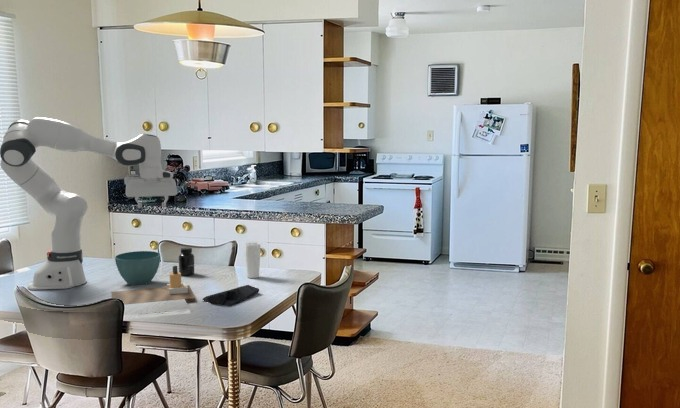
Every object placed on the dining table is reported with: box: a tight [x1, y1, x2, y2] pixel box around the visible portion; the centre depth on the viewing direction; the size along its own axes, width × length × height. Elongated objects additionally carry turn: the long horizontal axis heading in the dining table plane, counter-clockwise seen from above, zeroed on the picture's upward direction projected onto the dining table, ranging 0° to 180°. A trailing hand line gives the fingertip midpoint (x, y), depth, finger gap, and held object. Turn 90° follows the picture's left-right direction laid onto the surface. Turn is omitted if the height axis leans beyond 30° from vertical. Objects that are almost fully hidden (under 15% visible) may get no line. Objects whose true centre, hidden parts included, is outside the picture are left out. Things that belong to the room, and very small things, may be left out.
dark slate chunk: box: [202, 284, 260, 307], centre depth 243 cm, size 15×22×5 cm
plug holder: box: [166, 282, 188, 294], centre depth 247 cm, size 7×8×2 cm
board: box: [110, 284, 197, 305], centre depth 241 cm, size 30×20×2 cm, turn 110°
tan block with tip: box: [169, 265, 182, 288], centre depth 246 cm, size 4×4×10 cm
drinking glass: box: [244, 242, 262, 279], centre depth 275 cm, size 7×7×15 cm
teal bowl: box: [114, 250, 161, 287], centre depth 263 cm, size 18×18×12 cm
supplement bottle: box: [178, 247, 195, 277], centre depth 280 cm, size 7×7×12 cm
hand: (152, 207), depth 256 cm, fingers open, 8 cm apart
